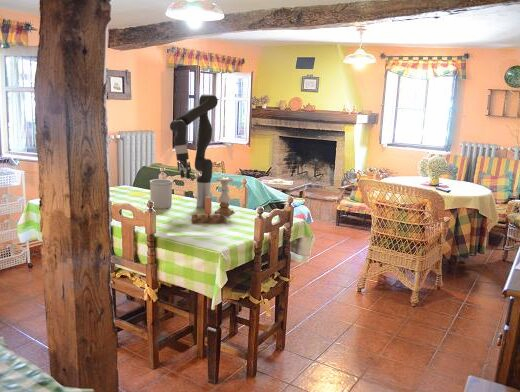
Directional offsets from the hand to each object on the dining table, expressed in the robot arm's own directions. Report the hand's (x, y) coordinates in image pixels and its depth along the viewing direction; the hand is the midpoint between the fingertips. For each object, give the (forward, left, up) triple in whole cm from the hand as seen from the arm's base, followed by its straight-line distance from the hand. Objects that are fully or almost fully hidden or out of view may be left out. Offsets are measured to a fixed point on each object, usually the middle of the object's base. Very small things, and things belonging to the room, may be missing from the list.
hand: (185, 177), depth 295 cm
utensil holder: (0, -25, -23) cm, 34 cm away
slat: (+5, +26, -21) cm, 34 cm away
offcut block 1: (+10, +27, -21) cm, 36 cm away
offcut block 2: (+4, +31, -21) cm, 38 cm away
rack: (+7, +29, -23) cm, 37 cm away
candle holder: (-14, +21, -23) cm, 34 cm away
